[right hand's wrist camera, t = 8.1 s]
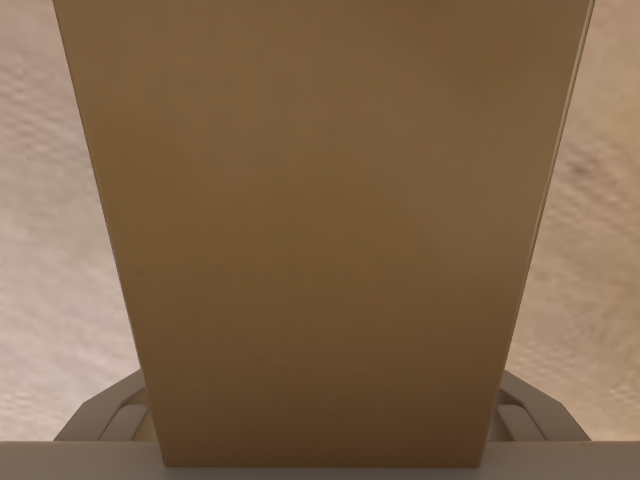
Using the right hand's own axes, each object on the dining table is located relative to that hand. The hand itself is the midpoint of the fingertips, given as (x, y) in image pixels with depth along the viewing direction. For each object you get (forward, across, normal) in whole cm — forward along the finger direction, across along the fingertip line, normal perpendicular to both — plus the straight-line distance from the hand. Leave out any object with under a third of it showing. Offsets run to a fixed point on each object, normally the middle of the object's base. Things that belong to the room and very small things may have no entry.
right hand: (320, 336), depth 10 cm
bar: (+3, 0, -10) cm, 10 cm away
